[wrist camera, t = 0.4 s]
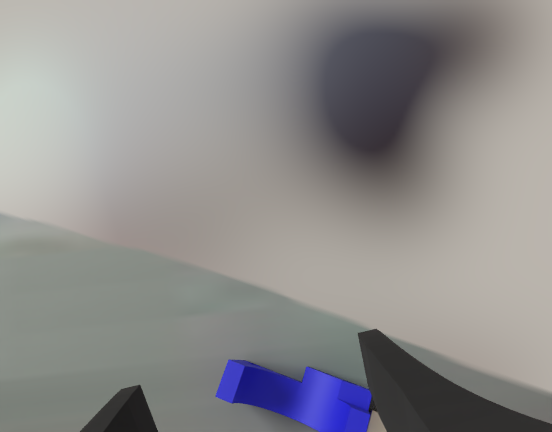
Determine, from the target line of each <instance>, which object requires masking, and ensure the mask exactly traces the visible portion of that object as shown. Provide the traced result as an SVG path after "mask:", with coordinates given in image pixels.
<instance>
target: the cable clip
mask: <svg viewBox="0 0 552 432" xmlns="http://www.w3.org/2000/svg"><path fill="white" fill-rule="evenodd" d="M215 397H218V398H220V399H222V400H225V401H227V402H229V403H243V404H249V405H254V406H257V407H261V408H264V409H268V410H271V411H274V412H277V413H279V414H282V415H285V416H287V417H290V418H292V419H294V420H297V421H299V422H301V423H303V424H305V425H308V426H310V427H312V428H313V429H315V430H317V431H319V432H366V431H367V427H368V423H369V419H370V413H369V411H368V409H369V405H370V401H371V397H372V395H371V392H370V390H369V389H366V388H364V387H361V386H358V385H356V384H353V383H350V382H348V381H345V380H342V379H340V378H337V377H334V376H332V375H329V374H326V373H324V372H321V371H318V370H316V369H313V368H310V367H306V370H305V374H304V377H303V380H302V382H300V381H297V380H295V379H292V378H289V377H287V376H284V375H282V374H279V373H276V372H274V371H271V370H269V369H266V368H263V367H261V366H258V365H256V364H253V363H250V362H248V361H245V360H228V363H227V366H226V368H225V371H224V374H223V377H222V379H221V382H220V385H219V388H218V391H217V393H216V396H215Z"/></svg>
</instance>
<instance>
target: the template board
mask: <svg viewBox="0 0 552 432" xmlns="http://www.w3.org/2000/svg"><path fill="white" fill-rule="evenodd" d="M366 432H387V431H386V429H385V427H384V425H383V423H382V421H381V419H380V417H379V414H378V412H376V411H374V410H371V414H370V419H369V423H368V427H367V431H366Z"/></svg>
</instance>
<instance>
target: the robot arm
mask: <svg viewBox="0 0 552 432" xmlns="http://www.w3.org/2000/svg"><path fill="white" fill-rule="evenodd" d="M358 337H359V342H360V347H361V352H362V357H363V362H364V367H365V372H366V378H367V383H368V387H369V390H370V392H371V395H372V398H373V401H374V403H375V406H376V409H377V411H378V414H379V417H380V419H381V421H382V423H383V425H384V427H385V429H386V431H387V432H552V424H550V423H547V422H544V421H541V420H538V419H535V418H532V417H529V416H526V415H523V414H521V413H518V412H515V411H513V410H510V409H508V408H505V407H503V406H501V405H498V404H496V403H493V402H491V401H489V400H487V399H484V398H482V397H480V396H478V395H476V394H474V393H472V392H470V391H468V390H466V389H464V388H462V387H460V386H458V385H456V384H454V383H453V382H451V381H449V380H447V379H446V378H444V377H442V376H441V375H439V374H438V373H436V372H434V371H433V370H431V369H430V368H428V367H427V366H425V365H424V364H422V363H421V362H419V361H418V360H417V359H415V358H414V357H412V356H411V355H409V354H408V353H407V352H405V351H404V350H403V349H401V348H400V347H399V346H398V345H396V344H395V343H394V342H393V341H391V340H390V339H389V338H388V337H386V336H385V335H384V334H383V333H382V332H380V331H379V330H377V329H374V330H369V331H365V332H361V333H358ZM80 432H158V430H157V428H156V425H155V423H154V420H153V417H152V415H151V412H150V410H149V407H148V404H147V402H146V399H145V397H144V394H143V391H142V389H141V386H140V385H137V386H133V387H129V388H124V389H121V390H120V391H119V392H118V393H117V394H116V395H115V396H114V397H113V398H112V399H111V400H110V401H109V402H108V403H107V404H106V405H105V406H104V407H103V408H102V409H101V410H100V411H99V412H98V413H97V414H96V415H95V416H94V417H93V418H92V419H91V421H90V422H89V423H88V424H87V425H86V426H85V427H84V428H83V429H82V430H81V431H80Z"/></svg>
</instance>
